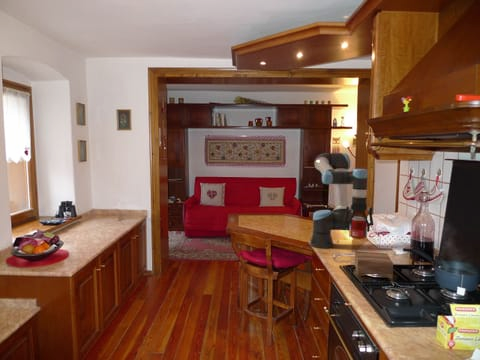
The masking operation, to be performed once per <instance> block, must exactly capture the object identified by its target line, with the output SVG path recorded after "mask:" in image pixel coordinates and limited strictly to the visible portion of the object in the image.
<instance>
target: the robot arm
mask: <svg viewBox="0 0 480 360" xmlns="http://www.w3.org/2000/svg"><path fill="white" fill-rule="evenodd" d="M313 165H314V167H315V169H316V170H318V171H319V172H320V174H321V182H322V184H324V185H333V193H334V209H332V210H330V209H320V210H315V212H313V216H312V234H311V238H310V241H309V245H310V246H311V247H313V248H317V249H330V248H333V247H334V242H333V237H332V235H331V234H332V233H331V232H332V231H348V236H349V238H350V237H351V221H352V218H353V217H356V214H361V215H362V216H363V217H364V218H365V219H366V236H365V238H366V239H368V232H370V228H371V226H374V219H373V213H372V211H373V208H372V206H367V200H368V199H367V195H368V194H367V193H368V190H367V189H368V177H369V176H368V169H365V168H355V169H354V168H353V170H351V171H350V168H351V158H350V156H349V155H348V153H345V152H324V153H320V154H319V155H316V157H315V159H314V161H313ZM348 185H352V191H351V195H352V199H351V205H349V194H348ZM366 210H367V211H368V216H369V219H368V217H367V215H366V213H365V211H366ZM332 211H333V212H332ZM351 238H352V237H351Z"/></svg>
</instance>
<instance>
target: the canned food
mask: <svg viewBox="0 0 480 360" xmlns="http://www.w3.org/2000/svg"><path fill="white" fill-rule="evenodd" d="M366 225H367V223H366V219H365V218H364V216H363V217H362V216H355V217H353V218H352V221H351V238H352V239H357V240H363V239H365V238H366V237H365V236H366Z"/></svg>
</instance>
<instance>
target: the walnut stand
mask: <svg viewBox="0 0 480 360" xmlns="http://www.w3.org/2000/svg"><path fill="white" fill-rule="evenodd" d="M354 267H356V268H355V272H356V271H357V272H356V274H357V275H356V276H357V277H361V276H362V275H364V274H378V275H381V276H385V277H387V278H389V279H388V280H393V279H394V278H393V277H394V262H393V260H392V259H391V258H390V256H389V254H388V253H384V252H383V253H382V252H371V251H369V252H368V251H357V250H356V251H354Z"/></svg>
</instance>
